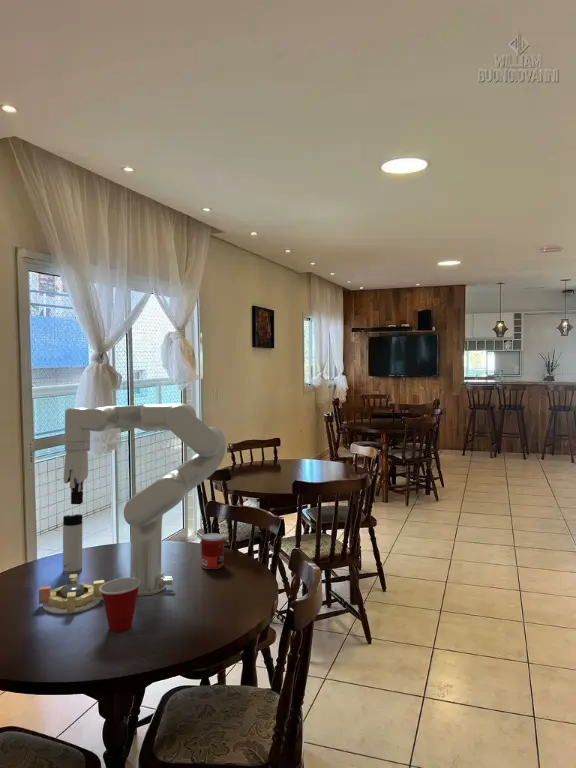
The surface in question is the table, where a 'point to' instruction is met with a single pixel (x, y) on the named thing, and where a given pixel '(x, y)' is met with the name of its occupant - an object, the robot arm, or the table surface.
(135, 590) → the plastic cup
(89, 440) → the robot arm
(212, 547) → the canned food
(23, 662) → the table surface
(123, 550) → the table surface
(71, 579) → the locking ring
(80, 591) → the flange
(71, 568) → the travel mug
